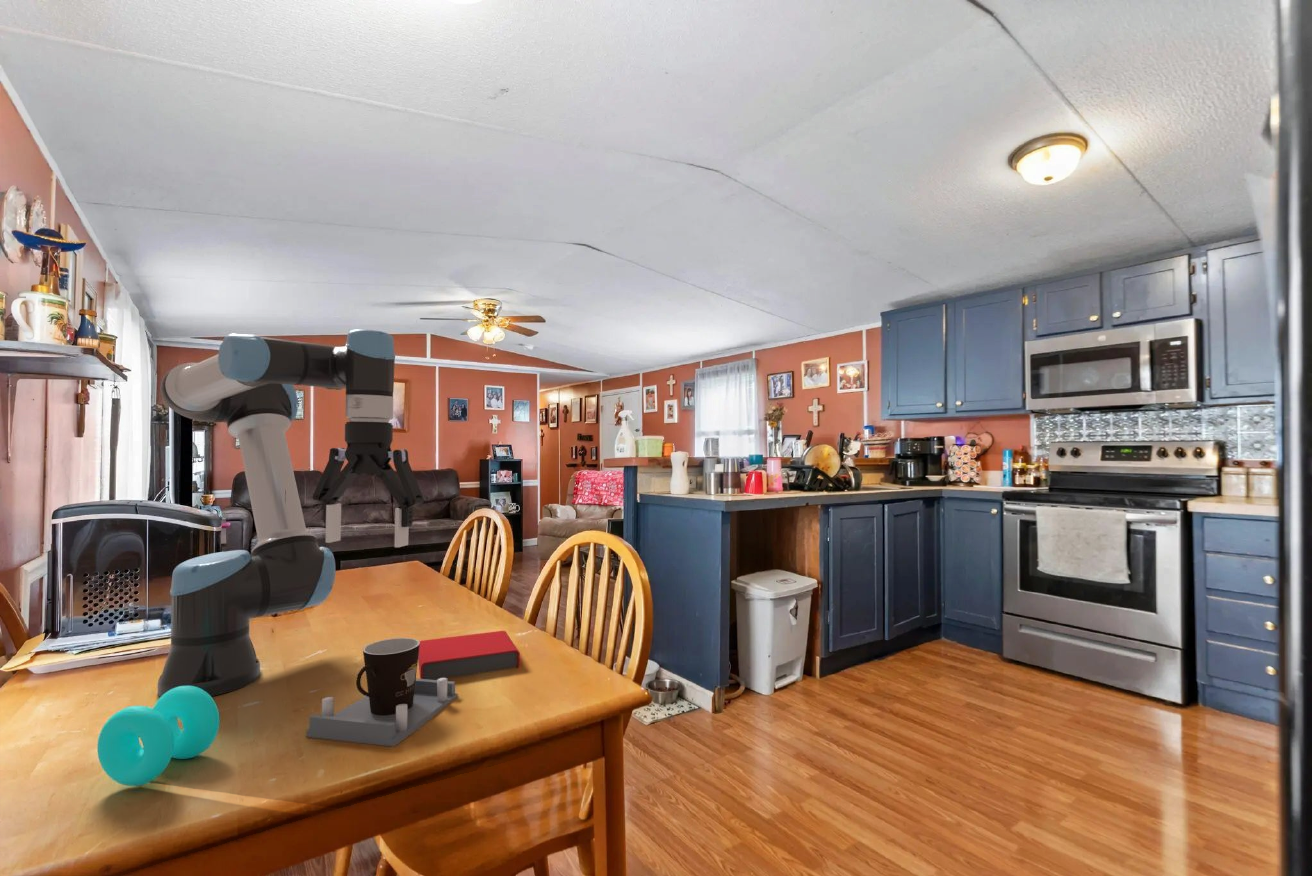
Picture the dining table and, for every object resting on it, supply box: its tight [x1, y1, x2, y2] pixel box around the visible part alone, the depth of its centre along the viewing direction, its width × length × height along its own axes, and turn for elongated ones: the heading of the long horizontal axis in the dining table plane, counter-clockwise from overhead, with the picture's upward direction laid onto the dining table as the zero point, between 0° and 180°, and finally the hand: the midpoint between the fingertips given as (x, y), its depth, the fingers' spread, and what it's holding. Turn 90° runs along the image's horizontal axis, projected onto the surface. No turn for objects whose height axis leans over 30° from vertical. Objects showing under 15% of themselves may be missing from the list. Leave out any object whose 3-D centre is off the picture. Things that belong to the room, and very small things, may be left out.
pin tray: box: [305, 677, 459, 748], centre depth 100 cm, size 15×17×4 cm
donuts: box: [96, 686, 220, 787], centre depth 83 cm, size 10×10×10 cm
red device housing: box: [418, 630, 521, 680], centre depth 122 cm, size 18×14×5 cm
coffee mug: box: [355, 637, 421, 716], centre depth 100 cm, size 12×9×10 cm
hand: (366, 543), depth 106 cm, fingers open, 13 cm apart
